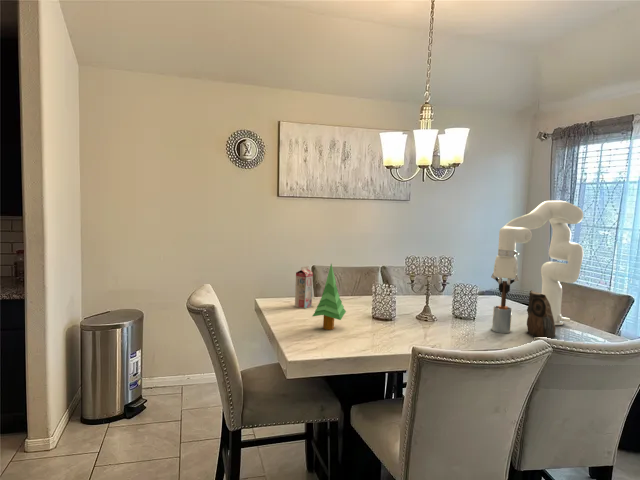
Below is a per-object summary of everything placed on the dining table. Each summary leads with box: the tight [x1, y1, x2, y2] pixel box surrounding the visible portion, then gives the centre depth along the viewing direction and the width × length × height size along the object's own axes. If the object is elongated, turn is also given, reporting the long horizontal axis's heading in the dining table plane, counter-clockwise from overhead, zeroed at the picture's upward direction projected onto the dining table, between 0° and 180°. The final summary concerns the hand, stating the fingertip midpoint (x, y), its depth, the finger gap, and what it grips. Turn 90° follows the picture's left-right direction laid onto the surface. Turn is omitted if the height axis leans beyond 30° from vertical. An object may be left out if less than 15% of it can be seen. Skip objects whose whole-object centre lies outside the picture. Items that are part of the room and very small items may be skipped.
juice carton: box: [294, 265, 314, 309], centre depth 247 cm, size 7×7×22 cm
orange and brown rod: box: [498, 280, 509, 310], centre depth 213 cm, size 4×4×19 cm
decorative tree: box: [312, 263, 347, 331], centre depth 204 cm, size 14×16×30 cm
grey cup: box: [491, 305, 513, 334], centre depth 213 cm, size 8×8×11 cm
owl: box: [526, 290, 556, 339], centre depth 207 cm, size 13×13×20 cm
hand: (504, 292), depth 212 cm, fingers closed on orange and brown rod, 2 cm apart
